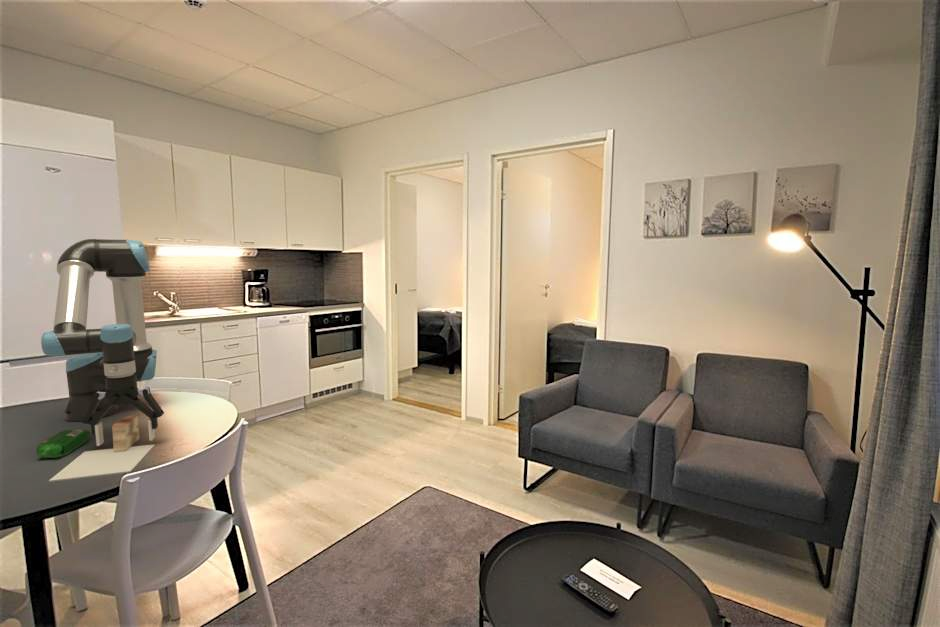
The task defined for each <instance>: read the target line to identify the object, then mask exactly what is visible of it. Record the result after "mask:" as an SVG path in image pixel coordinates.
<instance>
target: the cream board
mask: <svg viewBox="0 0 940 627" xmlns="http://www.w3.org/2000/svg"><path fill="white" fill-rule="evenodd" d="M155 445H156V444H145V445H135V446H131V447H129V448H128V449H127V450H126V451H117V452H114V448H105V449H96V450H89V451H88V450H87V451H85V450H84V451H83V452H82V453H81V454H80V455H78V456H77V457H76V458H75V459H73V460H72V461H71V462H70V463H69V464H68V465H66V466H64V467H63V469H61V470H60V471H59V472H58V473H57V474H55V475H54V476H52V477H51V478H50V479H49V480H48V482H49V483H52V482H60V481H67V480H68V481H69V480H76V479H84V478H93V477H105V476H110V475H119V474H128V473H132V472H131V471H132V470H133V469H134V468H135V467H137V465H138V464H139V463H140V462H141V461H142V460H143V459H144V458H145V456H147V454H148V453H149V452H150V451H151V450H152V449H153V447H155Z"/></svg>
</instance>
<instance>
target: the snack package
mask: <svg viewBox="0 0 940 627" xmlns="http://www.w3.org/2000/svg"><path fill="white" fill-rule="evenodd" d="M89 436H90V430H88V429H84V428H81V429H80V428H79V429H66V430H62V431H60V432H58V433H56V434H55V435H53V436H50V437H48V438H47V439H45V440H43V441H42V442H41V443H40V444H39V445H38V446H37V447H36V448H37V451H36V454H37V457H40V458H43V459H49V458H51V459H53V458H55V459H56V458H62V457H65V456H67V455H69V453H71V452H73V451H75V450H76V449H77V448H79V447H81V446H82V445H83V444H85V443H86V442H87V441H88V439H89Z"/></svg>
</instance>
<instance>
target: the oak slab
mask: <svg viewBox="0 0 940 627" xmlns="http://www.w3.org/2000/svg"><path fill="white" fill-rule="evenodd" d="M111 428H112V432H111V433H112V441H113V442H112V444H113V447H112V448H113V449H114V452H117V451H126V450H127V449H128V448H129V447H133V445H135V443H136V442H137V441H138V440H139V439H140V428H139V415H137V414H136V415H135V414H134V415H126V416H125V417H123V418H121V420H119V421H117V422H115V423H114V424H112V425H111Z"/></svg>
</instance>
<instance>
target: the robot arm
mask: <svg viewBox="0 0 940 627" xmlns="http://www.w3.org/2000/svg"><path fill="white" fill-rule="evenodd" d="M150 270H151V268H150V263H149V258H148V255H147V251H146V247H145V244H144V243H143V242H142V241H140V240H133V239H104V238H103V239H101V238H100V239H99V238H98V239H96V238H88V239H83V240H80V241H76V243H74V244H72V245H71V246H69V247H68V248H66V249H65V250H64V251H63V252H62V254H61V256H60V257H59V258H58V261H57V264H56V272H57V274H58V275H59V280H58V288H57V289H58V290H57V298H56V303H55V304H56V306H55V311H54V312H55V314H54V320H53V330H50V331H45V332H43V333H42V335H41V337H40V338H41V339H40V343H41V349H42V350H41V351H42V352H43V354H44V355H45V356H46V357H65V356H70V357H68V358H67V359H66V361H65V373H66V380H67V381H66V382H67V388H68V401H67V403H66V406H65V409H64V420H65V421H68V422H82V424H84V425H86V424H88V425H90V429H91V430H90V431H91V435H92V436H93V435H94V436H95V443H96V444H95V445H96V447H100V446H101V445H103V444H104V443H105V441H104V440H105V439H104V428H103V421H100V420H102V418H105V417H109V416H111V415H115V413H117V412H118V411H119V406H123V405H124V406H128V405H131V406H133V407H136V408H137V409H138V410H139V411H140V412H142V414H144V415H145V416H147V418H148V420H147V426H148V428H147V429H148V430H147V431H148V438H149V441H154V439H155V438H156V429H158V427H159V424H158V423H159V422H158V421H159V420H158V418H161V417H162V416H163V415H165V411H163V410H164V409H163V408H162V407H161V406H160V404H159V403H158V402H157V400H156V399H155V398H154V396H153V395H152V392H151V388H150V387H148V386H147V387H146V388H142V389H139V388H138V382H139V383H140V382H142V381H143V382H144V381H150V380H152V379H154V378H155V376H156V366H157V354H158V353H157V352H158V351H157V349H154V348H153V345H152V344H150V343H149V342H147V333H146V332H147V330H146V322H145V319H146V318H145V310H144V309H145V308H144V299H143V298H144V297H143V289H142V288H143V287H142V280H143V279H144V278H145V277H146V276H147V273H148V272H150ZM99 272H101V273H105V277H106V278H107V279H109V280H110V282H111V283H112V293H113V302H114V303H113V304H114V312H115V324H106V325H103V326H102V327H101V328H90V329H87V321H88V320H87V319H88V308H89V297H90V296H89V295H90V281H91V278H92V277H93V276H94V275H95V273H99ZM139 395H140V396H142V397H143V399H144V400H145V401H146V403H145V402H143V401H142V399H141V398H140V397H138V396H139ZM147 404H148V405H147Z"/></svg>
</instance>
